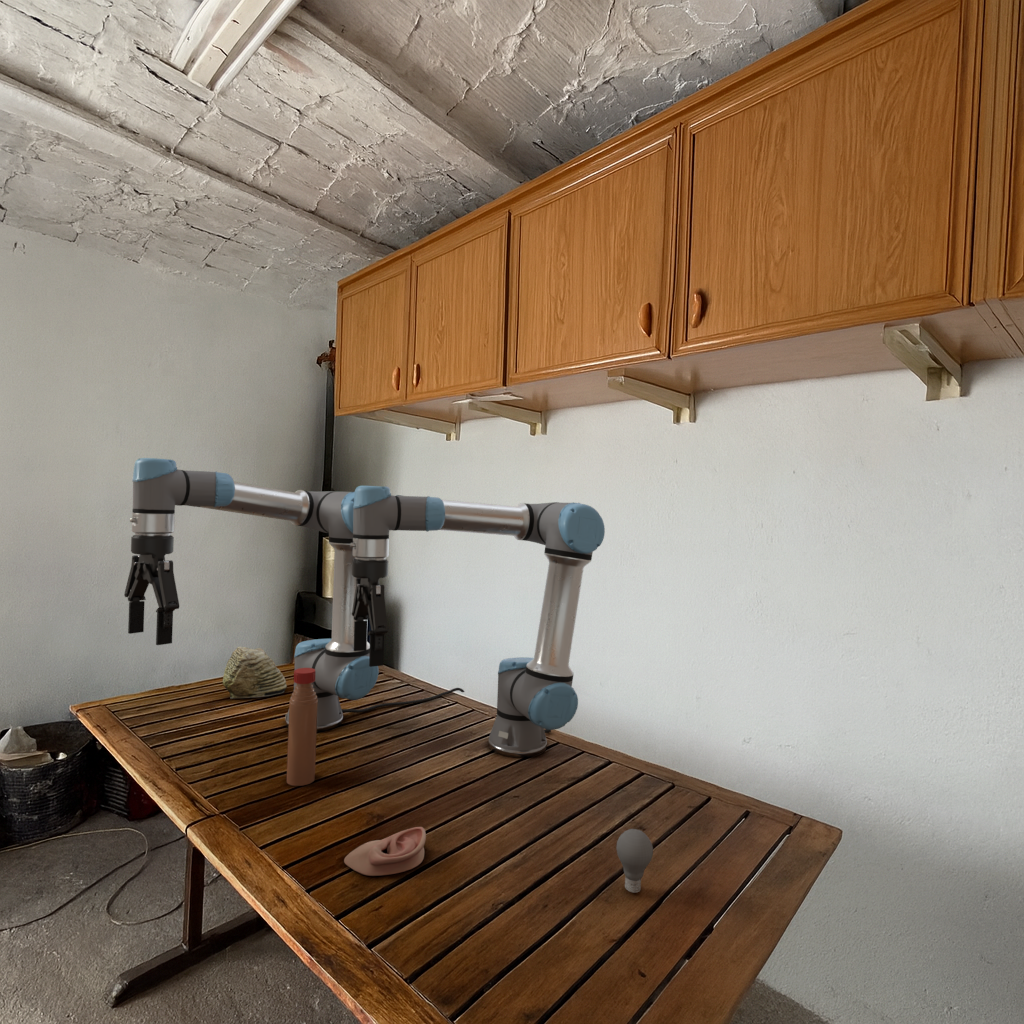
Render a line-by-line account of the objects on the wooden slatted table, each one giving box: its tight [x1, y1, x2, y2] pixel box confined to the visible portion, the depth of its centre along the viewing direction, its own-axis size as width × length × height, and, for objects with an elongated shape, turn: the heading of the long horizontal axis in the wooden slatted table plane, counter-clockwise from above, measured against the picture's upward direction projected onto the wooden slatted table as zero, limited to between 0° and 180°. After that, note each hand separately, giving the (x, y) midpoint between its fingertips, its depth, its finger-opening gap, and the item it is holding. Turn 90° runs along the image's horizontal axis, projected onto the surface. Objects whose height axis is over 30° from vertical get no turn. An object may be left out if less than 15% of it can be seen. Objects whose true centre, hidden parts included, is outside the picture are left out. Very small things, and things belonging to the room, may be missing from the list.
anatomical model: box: [343, 826, 427, 877], centre depth 112 cm, size 13×4×12 cm
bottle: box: [286, 683, 318, 787], centre depth 141 cm, size 6×6×24 cm
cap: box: [293, 668, 316, 684], centre depth 141 cm, size 5×5×2 cm
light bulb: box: [615, 828, 654, 894], centre depth 106 cm, size 6×6×10 cm
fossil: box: [222, 646, 288, 699], centre depth 198 cm, size 9×18×15 cm, turn 132°
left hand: (149, 638), depth 129 cm, fingers open, 13 cm apart
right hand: (367, 657), depth 135 cm, fingers open, 13 cm apart
